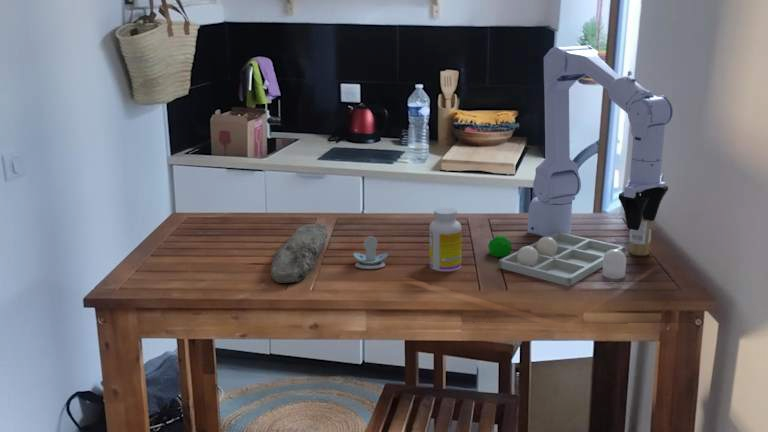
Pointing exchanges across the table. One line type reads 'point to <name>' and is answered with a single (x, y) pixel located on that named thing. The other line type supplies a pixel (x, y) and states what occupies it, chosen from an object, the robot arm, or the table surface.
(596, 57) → the robot arm
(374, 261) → the pacifier
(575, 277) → the egg tray
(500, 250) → the polyhedron
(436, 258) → the supplement bottle
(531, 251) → the cream egg front
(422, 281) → the table surface
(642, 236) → the sprinkles bottle
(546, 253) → the cream egg middle
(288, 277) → the long grey stone
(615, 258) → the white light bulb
